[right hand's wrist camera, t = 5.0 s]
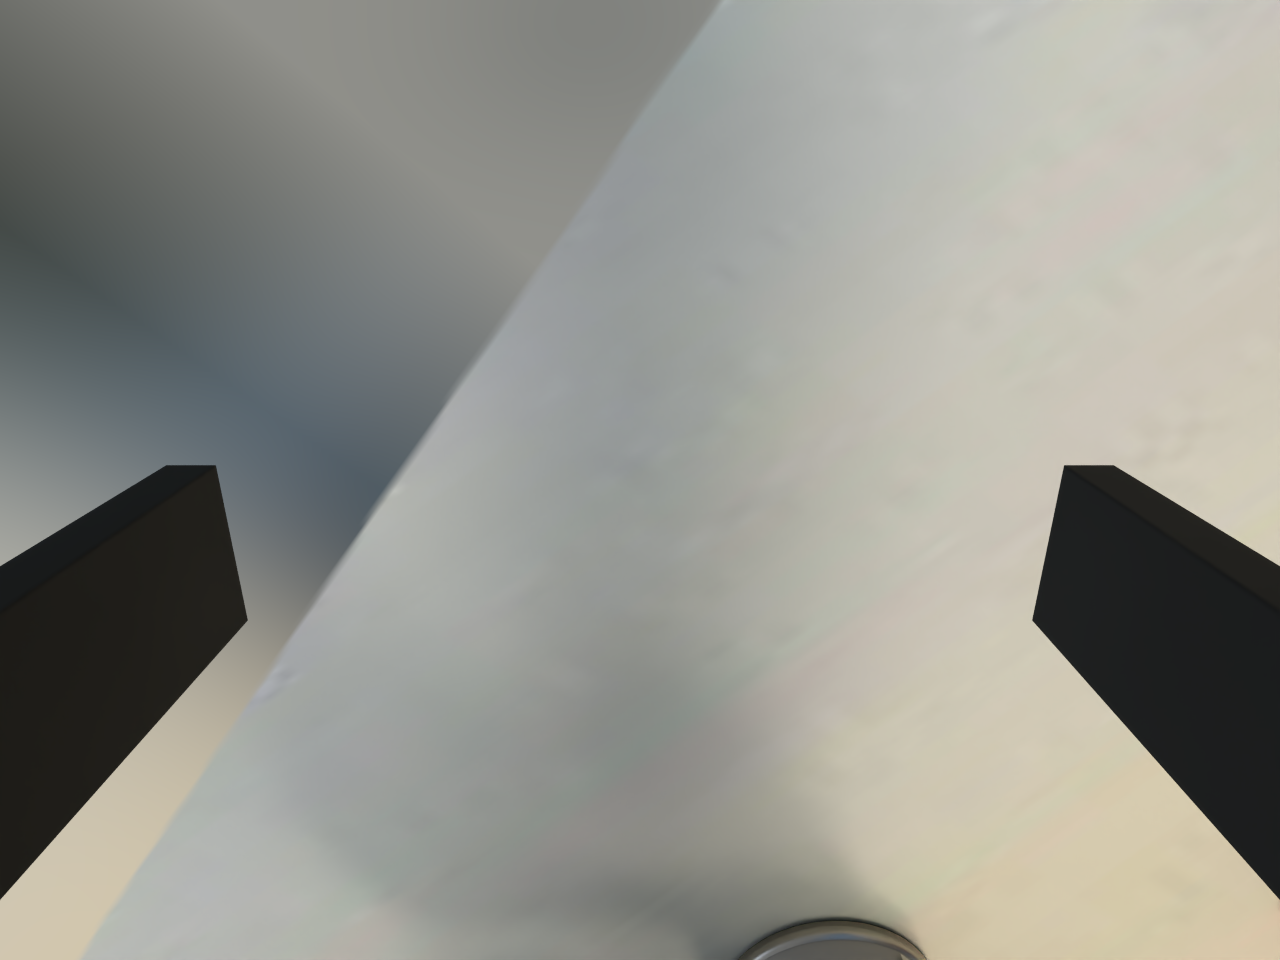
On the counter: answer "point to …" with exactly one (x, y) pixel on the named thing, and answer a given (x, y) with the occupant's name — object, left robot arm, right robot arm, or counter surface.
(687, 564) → the counter surface
